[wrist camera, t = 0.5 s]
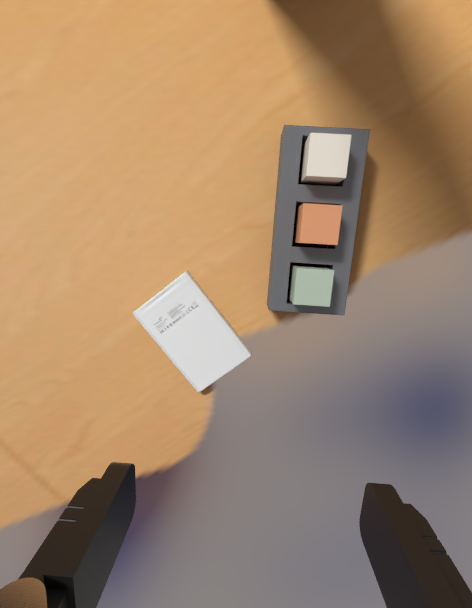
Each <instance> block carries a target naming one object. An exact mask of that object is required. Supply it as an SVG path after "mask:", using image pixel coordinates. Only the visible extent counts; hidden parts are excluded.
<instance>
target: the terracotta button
mask: <svg viewBox="0 0 472 608" xmlns="http://www.w3.org/2000/svg"><path fill="white" fill-rule="evenodd" d="M342 206H343V205H326V204H309V203H303V204H302V205H300V206H299V207H298V209H297V219H296V229H295V240H294V243H307V244H323V245H338V238H339V230H340V222H341V214H342Z"/></svg>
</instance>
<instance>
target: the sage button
mask: <svg viewBox="0 0 472 608" xmlns="http://www.w3.org/2000/svg"><path fill="white" fill-rule="evenodd" d="M333 277H334V270H332V269H329V268H325V267H310V266H294V265H292V270H291V280H290V291H289V299H290V301H291V302H292V303H293V304H296V305H311V306H326V307H330V301H331V293H332V285H333Z"/></svg>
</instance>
